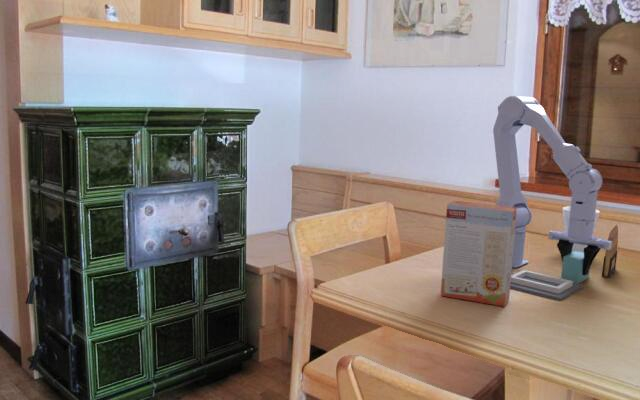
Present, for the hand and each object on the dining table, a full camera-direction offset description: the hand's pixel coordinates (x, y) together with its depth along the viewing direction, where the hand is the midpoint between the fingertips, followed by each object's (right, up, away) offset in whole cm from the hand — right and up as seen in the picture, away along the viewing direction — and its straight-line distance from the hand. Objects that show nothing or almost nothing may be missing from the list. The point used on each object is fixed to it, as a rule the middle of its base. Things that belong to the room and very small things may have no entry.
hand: (575, 272), depth 154 cm
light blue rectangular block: (0, -2, 0) cm, 2 cm away
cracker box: (-30, -4, -17) cm, 35 cm away
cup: (+11, +2, +25) cm, 28 cm away
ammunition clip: (+12, -1, +7) cm, 14 cm away
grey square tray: (-11, -2, -7) cm, 14 cm away
